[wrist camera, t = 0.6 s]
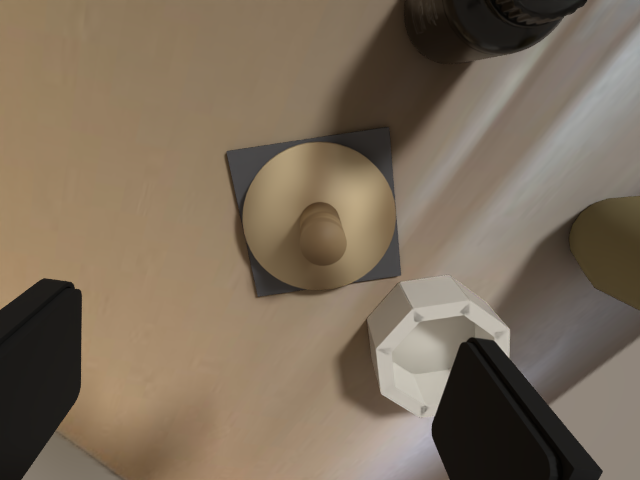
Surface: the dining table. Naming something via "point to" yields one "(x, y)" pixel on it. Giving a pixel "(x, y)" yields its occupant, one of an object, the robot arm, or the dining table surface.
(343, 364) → the dining table surface
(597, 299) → the dining table surface
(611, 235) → the squeeze bottle
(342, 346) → the dining table surface
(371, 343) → the bowl
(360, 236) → the lid
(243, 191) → the mat
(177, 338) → the dining table surface
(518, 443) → the robot arm
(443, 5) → the supplement bottle
